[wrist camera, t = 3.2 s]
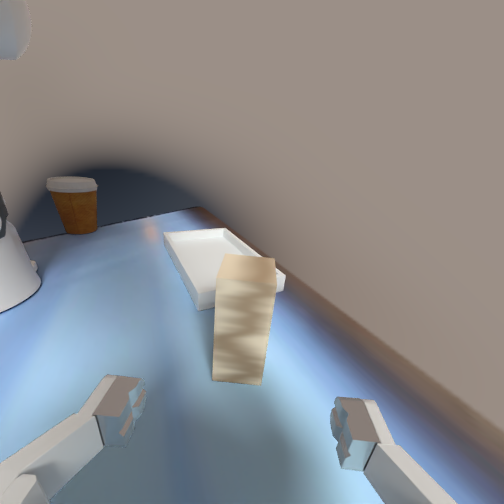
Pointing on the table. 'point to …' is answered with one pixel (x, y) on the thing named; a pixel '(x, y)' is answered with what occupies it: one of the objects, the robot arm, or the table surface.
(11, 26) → the robot arm
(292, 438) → the table surface
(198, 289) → the tray
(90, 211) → the disposable coffee cup
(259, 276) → the ash block
